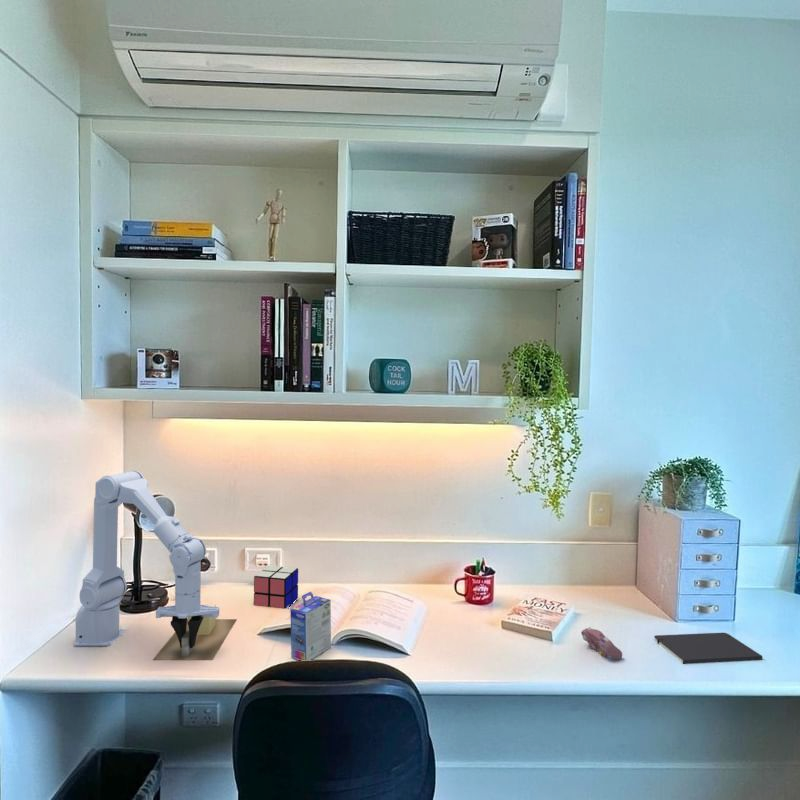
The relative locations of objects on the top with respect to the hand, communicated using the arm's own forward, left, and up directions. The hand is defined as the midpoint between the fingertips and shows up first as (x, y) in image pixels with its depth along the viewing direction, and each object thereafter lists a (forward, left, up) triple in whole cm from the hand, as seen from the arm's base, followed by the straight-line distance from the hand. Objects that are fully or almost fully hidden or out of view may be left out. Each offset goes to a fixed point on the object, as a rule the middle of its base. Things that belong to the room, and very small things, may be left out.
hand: (187, 646), depth 132 cm
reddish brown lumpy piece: (+102, +2, -3) cm, 102 cm away
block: (-1, +12, -2) cm, 12 cm away
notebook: (+130, +4, -4) cm, 130 cm away
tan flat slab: (0, +8, -3) cm, 8 cm away
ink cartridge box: (+29, +3, -3) cm, 30 cm away
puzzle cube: (+15, +32, -3) cm, 35 cm away
